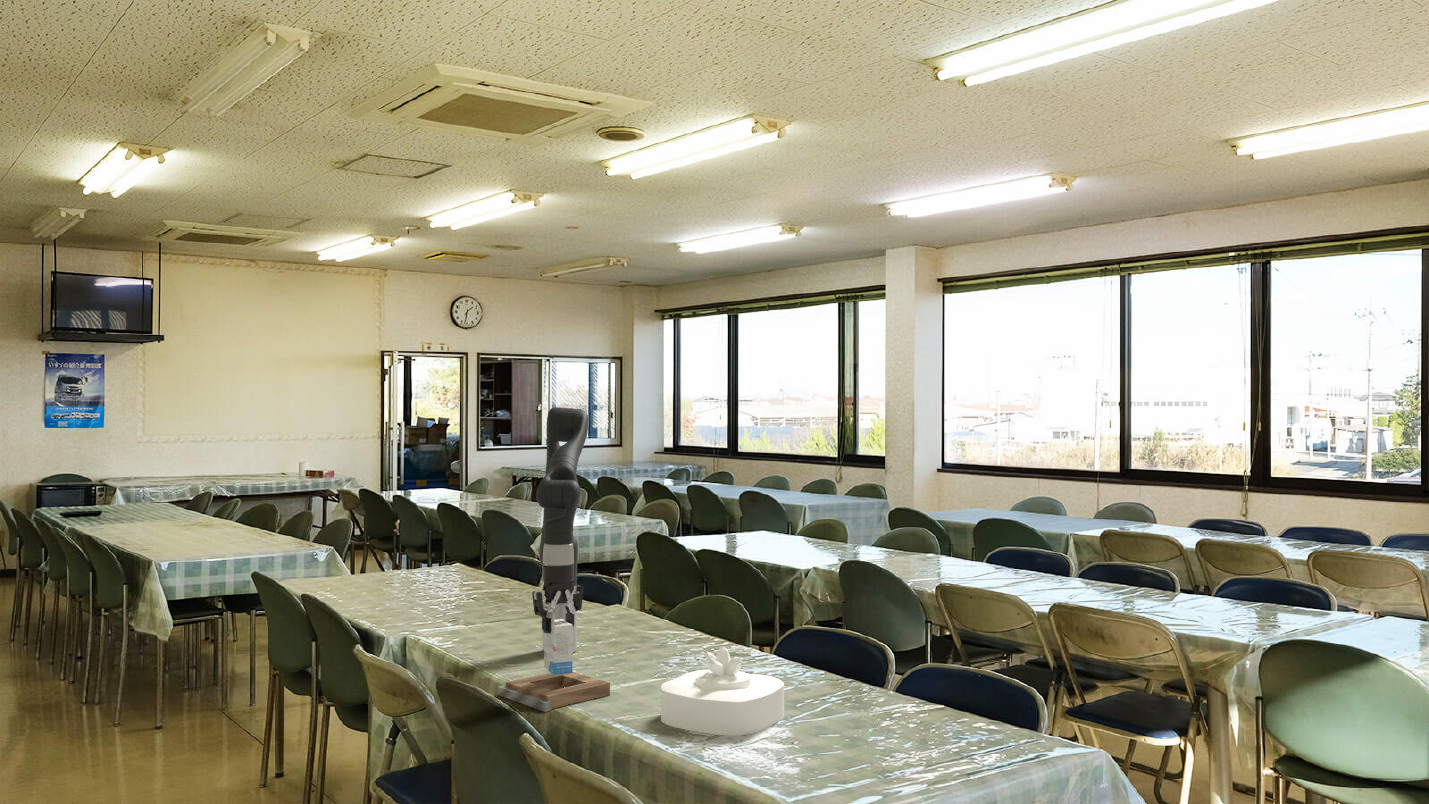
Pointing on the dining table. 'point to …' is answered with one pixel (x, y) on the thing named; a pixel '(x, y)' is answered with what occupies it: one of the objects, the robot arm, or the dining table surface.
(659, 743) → the dining table surface
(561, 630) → the ink box
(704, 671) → the tissue box
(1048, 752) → the dining table surface
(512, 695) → the frame
